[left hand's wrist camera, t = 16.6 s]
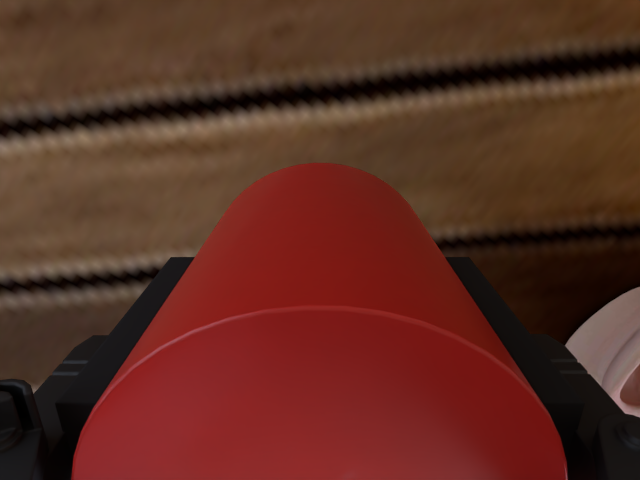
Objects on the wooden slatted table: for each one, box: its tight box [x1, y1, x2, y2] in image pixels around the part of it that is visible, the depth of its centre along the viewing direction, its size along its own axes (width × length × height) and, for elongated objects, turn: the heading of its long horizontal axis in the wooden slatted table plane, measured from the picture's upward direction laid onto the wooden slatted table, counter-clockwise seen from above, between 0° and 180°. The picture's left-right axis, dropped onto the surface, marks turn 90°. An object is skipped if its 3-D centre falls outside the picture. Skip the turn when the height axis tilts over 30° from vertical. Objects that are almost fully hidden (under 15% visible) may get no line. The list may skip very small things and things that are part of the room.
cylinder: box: [71, 163, 568, 480], centre depth 11 cm, size 8×8×10 cm
